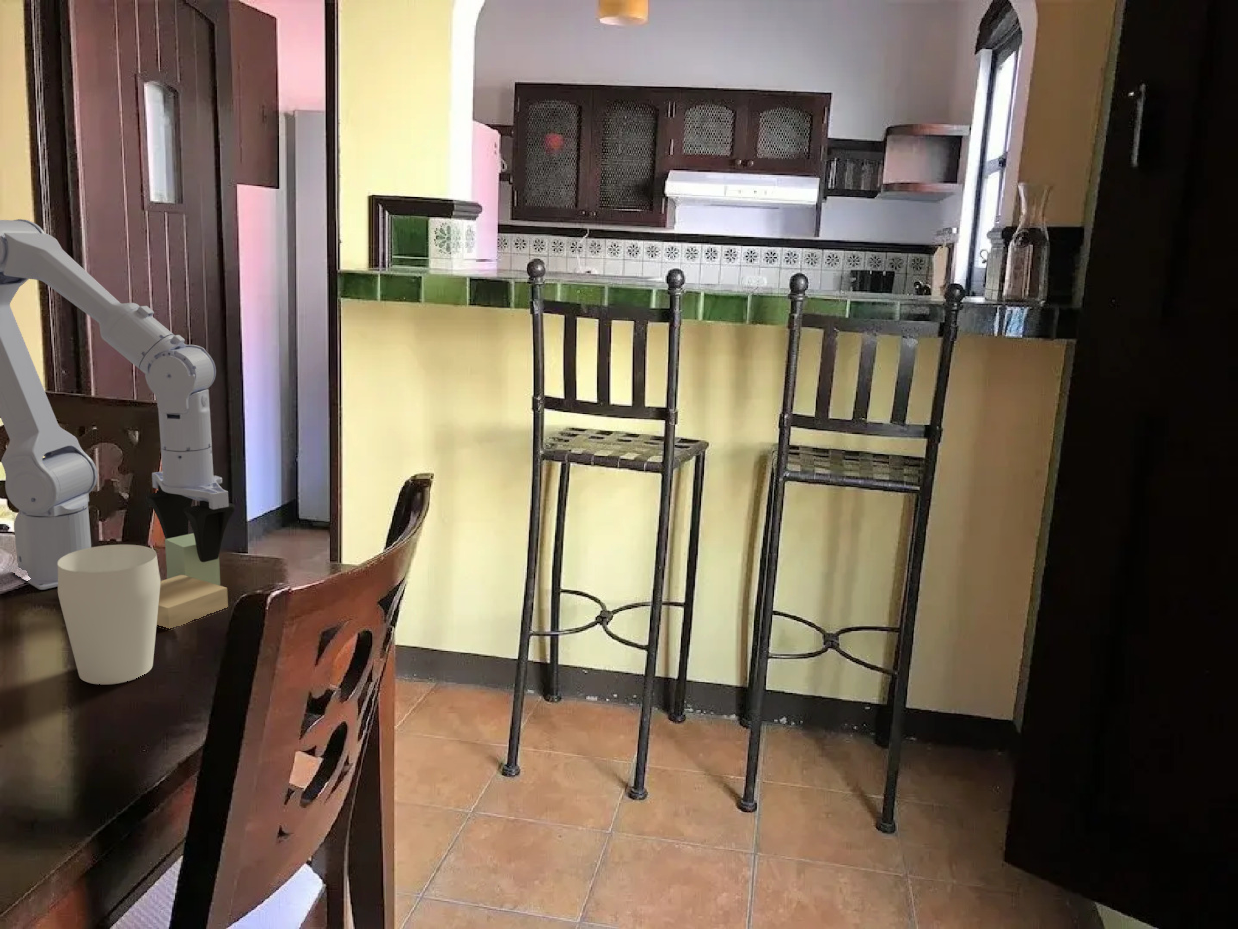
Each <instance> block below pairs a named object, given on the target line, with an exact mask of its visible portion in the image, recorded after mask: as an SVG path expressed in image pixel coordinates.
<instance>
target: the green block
mask: <svg viewBox="0 0 1238 929" xmlns="http://www.w3.org/2000/svg"><path fill="white" fill-rule="evenodd" d="M164 546H165V547H164V548H165V563H166V579H169V578H172V577H175V576H178V575H185V576H188V577H192V578H195V579H199V580H202V581H205V582H209V583H212V584H216V585H219V586H221V571H220V570H221V569H220V556H219V557H218V559H215V560H211V561H207V562H201V561H200V560H199V557H198V554H197V548H196V542H195V537H194V533H188V534H187V535H183V536H178V537H173V538H168V539H164Z"/></svg>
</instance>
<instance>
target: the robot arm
mask: <svg viewBox="0 0 1238 929" xmlns="http://www.w3.org/2000/svg"><path fill="white" fill-rule="evenodd" d="M29 280H36V281H41V282H42V283H44V284H45V285H47V286H48V287H50V288H51V289H52V290H54V291H55V292H56V293H57V294H59V295H60V296H62V297H63V298H65V299H66V300H67V301H69V302H70V303H71V304H73V305H74V306H75V307H77V308H78V309H80V310H81V311H82V312H83V313H85V314H86V315H88V316H89V317H90V318H92V320H94V321H96V322H97V323H98V326H99V333H100V338H101V339H102V340H103V341H104V342H106V343H107V344H108V345H109V346H110V347H112V348H113V349H114V350H115V351H117V352H118V353H119V354H120V355H122V357H124V358H125V359H126V360H127V361H129V362H130V363H131V364H132V365H134V366H135V367H136V368H137V369H138V370H140V371H141V372H142V373H143V374H144V377H145V381H146V385H147V386H148V389H149V390H150V391H151V392H152V393H153V394H154V396H155V398H156V406H157V409H158V410H157V412H158V424H159V438H160V439H159V440H160V454H161V458H160V459H161V468H162V470H161V471H158V472H157V471H156V472H152V473H151V479H152V480H151V481H152V488H154V489H157V490H156V492H152V493H151V492H150V493H148V494H146V495H145V498H146V501H147V502H148V504H149V505H150V506H151V508H152V509H153V512H154V513H155V515H156V517H157V519H158V521H159V525H160V527H161V530H162V532H163V533H162V534H163V536H164V538H165V539H168V538H173V537H178V536H183V535H187V534H189V525H190V526H191V529H192V532H193V533H194V537H195V542H196V548H197V554H198V557H199V560H200V561H201V562H207V561H211V560H215V559H218V557H219V558H220V552H221V547H222V543H223V539H224V535H225V534H224V533H225V531H226V528H227V526H228V523H229V521H230V519H231V517H232V515H233V514H234V513H235V511H236V510H235V509H236V505H235V504H233V503H231V502H229V491H228V490H225V489H223V488H222V486H220V485H221V484H223V477H221V476H219V475H214V464H213V462H214V461H213V442H212V441H213V440H212V425H211V424H212V423H211V409H210V408H211V407H210V393H209V392H210V390H209V388H210V387H211V386H212V385H213V384H214V382H215V380H216V376H217V369H216V364H215V361H214V360H213V358H212V356H211V355H210V354H209V353H208V352H207V350H206V349H205V348H204V347H202V346H201V345H195V344H187V343H185V341H186V340H185V338H184V337H182V336H181V334H176V335H175V334H174V333H173V332H171V331H170V330H169V329H168V328H167V327H166V326H164V325H163V324H162V323H161V322H159V321H158V319H156V318H155V317H153V316H154V314H155V312H154V310H153V309H152V308H150V307H149V306H148V305H141V306H140V305H139V304H138V303H135V302H125V303H121V301H119V300H118V299H117V298H116V297H115V296H114V295H113V294H111V293H110V292H109V291H108V289H106V288H105V287H104V286H103V285H102V284H101V283H99V282H98V281H97V280H96V279H95V277H93V276H92V275H91V274H90V273H89V272H88V271H87V270H86V269H85V268H83V267H82V266H81V265H80V264H79V263H78V262H77V261H75V260H74V259H73V258H72V257H71V256H70V255H69V254H68V253H67V252H66V251H65V250H64V249H63V248H62V246H61V244H60V243H59V241H58V239H56V238H55V237H54V236H52V235H50V234H48V233H46V232H45V231H44V229H43V228H41V226H39V225H38V224H37V223H36V222H33V221H30V220H29V219H28V220H27V219H23V218H22V219H21V218H19V219H11V220H9V219H0V419H1V422H2V424H3V426H4V429H5V432H6V434H7V436H8V438H9V443H8V445H7V447H6V450H5V451H4V453H3V456H2V457H1V462H0V463H1V465H2V467H3V469H4V474H5V482H4V483H5V484H4V485H5V486H4V487H5V493H6V495H7V498H8V500H9V502H10V503H11V504H12V505H13V506H14V507H15V508H16V509H18V513H17V515H16V517H14V518H15V519H14V524H13V530H14V541H15V550H16V552H15V553H16V559H17V560H16V561H17V562H16V563H17V567H19V568H21V569H22V570H26V571H27V573H28V576H29V577H30V578H31V579H30V580H28V582H27V583H28V584H30V585H31V586H33V587H34V588H36V589H38V590H41V591H42V590H48V589H52V588H56V587H57V588H58V561H59V559H60V558H62V557H63V556H65V555H67V554H69V553H72V552H75V551H78V550H82V549H87V548H92V539H91V525H90V514H89V502H90V496H89V494H90V493H91V492H92V491H93V490H94V488H95V487H96V485H97V483H98V469H97V466H96V464H95V463H94V460H93V459H92V458H91V457H90V456H89V455H88V454H87V453H86V452H85V451H84V449H82V447H81V445H80V442H79V440H78V437H76V436H75V435H73V434H72V433H70V432H69V431H67V430H65V429H64V428H62V427H61V426H60V425H59V423H58V421H57V418H56V415H55V413H54V410H53V407H52V406H51V403H50V400H49V399H48V396H47V394H46V391H45V388H44V386H43V384H42V381H41V379H40V376H39V374H38V372H37V369H36V366H35V364H34V362H33V360H32V356H31V354H30V352H29V349H28V348H27V345H26V342H25V340H24V337H23V334H22V332H21V330H20V327H19V325H18V322H17V320H16V317H15V315H14V312H13V310H12V307H11V302H12V301H13V299H14V297H15V295H16V294H17V292H18V290H19V289H20V287H21V286H22V285H23V284H25V283H26V282H28V281H29ZM193 500H194V501H197V502H198V503H199V505H192V504H193ZM165 539H164V540H165Z"/></svg>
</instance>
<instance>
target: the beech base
mask: <svg viewBox="0 0 1238 929" xmlns="http://www.w3.org/2000/svg"><path fill="white" fill-rule="evenodd" d="M228 600H229V598H228V587H225V586H223V585H216V584H212V583H209V582H205V581H202V580H199V579H195V578H192V577H188V576H185V575H178V576H175V577H172V578H169V579H167V578H166V579H162V580H160V594H159V605H158V615H157V625H159V626H163V627H166V628H169V629H170V628H173V627H176V626H180V627H182V626H184V625H183V624H185V625H187V624H186V623H188V622H190V621H192V620H194V619H199V618H201V617H203V616H206V615H207V614H210V613H214V612H216V611H219V610H222V609H224V608H227V607H228V608H229V601H228ZM201 619H202V618H201ZM199 620H200V619H199ZM190 623H191V622H190ZM188 624H189V623H188ZM181 625H182V626H181Z"/></svg>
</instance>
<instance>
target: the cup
mask: <svg viewBox="0 0 1238 929" xmlns="http://www.w3.org/2000/svg"><path fill="white" fill-rule="evenodd" d="M157 554H158V553H157V551H156V550H155V549H154V548H151V547H148V546H144V545H140V544H139V545H136V544H107V545H98V546H91V548H87V549H82V550H78V551H75V552H72V553H69V554H67V555H65V556H63V557H62V558H60V559H59V561H58V586H57V594H58V595H57V596H58V600H59V604H60V607H61V611H62V615H63V619H64V623H65V626H66V627H65V628H66V631H67V634H68V640H69V642H70V646H71V650H72V654H73V657H74V662H75V665H76V669H77V673H78V677H79V679H81V680H82V681H84V682H86V683H88V684H93V685H99V684H100V685H102V686H103V685H116V684H118V685H119V684H123V683H127V681H128V682H130V681H133V680H137V679H138V677H139V678H141V677H143V676H144V674H145V675H146V674H147V673H149V672H151V670H152V668H153V667H154V658H155V657H154V656H155V655H154V654H155V648H156V647H155V645H156V634H157V627H158V626H157V615H158V605H159V594H160V581H161V576H160V570H159V561H158V555H157ZM142 675H143V676H142ZM140 676H141V677H140ZM136 678H137V679H136Z"/></svg>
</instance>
